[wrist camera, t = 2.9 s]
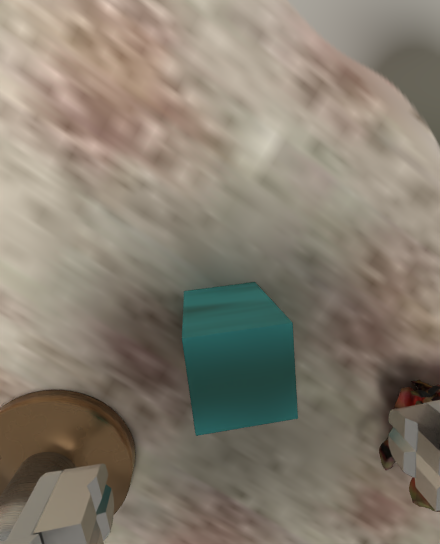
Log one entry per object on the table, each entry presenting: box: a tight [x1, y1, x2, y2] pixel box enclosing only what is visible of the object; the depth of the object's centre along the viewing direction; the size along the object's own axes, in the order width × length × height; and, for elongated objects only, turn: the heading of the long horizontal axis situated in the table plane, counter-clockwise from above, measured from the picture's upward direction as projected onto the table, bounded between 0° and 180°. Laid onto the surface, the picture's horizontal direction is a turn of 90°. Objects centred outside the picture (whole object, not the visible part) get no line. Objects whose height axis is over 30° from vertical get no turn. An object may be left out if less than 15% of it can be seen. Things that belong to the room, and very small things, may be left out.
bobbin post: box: [0, 390, 135, 541], centre depth 15 cm, size 10×10×10 cm
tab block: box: [182, 282, 298, 436], centre depth 16 cm, size 4×4×7 cm
